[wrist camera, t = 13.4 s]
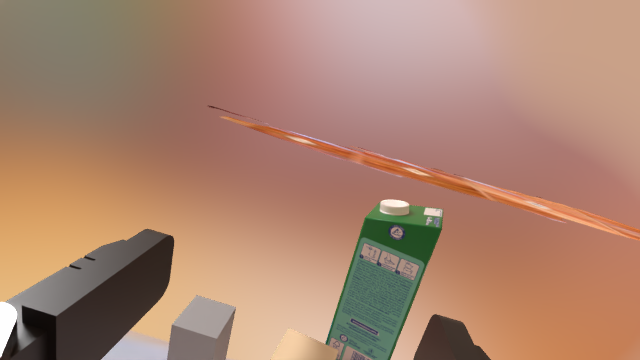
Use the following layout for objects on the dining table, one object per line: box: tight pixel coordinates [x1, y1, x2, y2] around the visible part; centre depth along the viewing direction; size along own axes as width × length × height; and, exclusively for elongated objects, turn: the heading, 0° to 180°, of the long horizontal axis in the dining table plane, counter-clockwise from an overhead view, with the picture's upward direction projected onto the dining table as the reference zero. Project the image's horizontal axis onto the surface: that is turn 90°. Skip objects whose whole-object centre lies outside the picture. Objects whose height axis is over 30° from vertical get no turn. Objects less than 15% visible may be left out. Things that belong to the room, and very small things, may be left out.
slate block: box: [167, 295, 236, 360], centre depth 34 cm, size 5×5×11 cm
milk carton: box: [326, 200, 443, 360], centre depth 44 cm, size 9×9×25 cm
